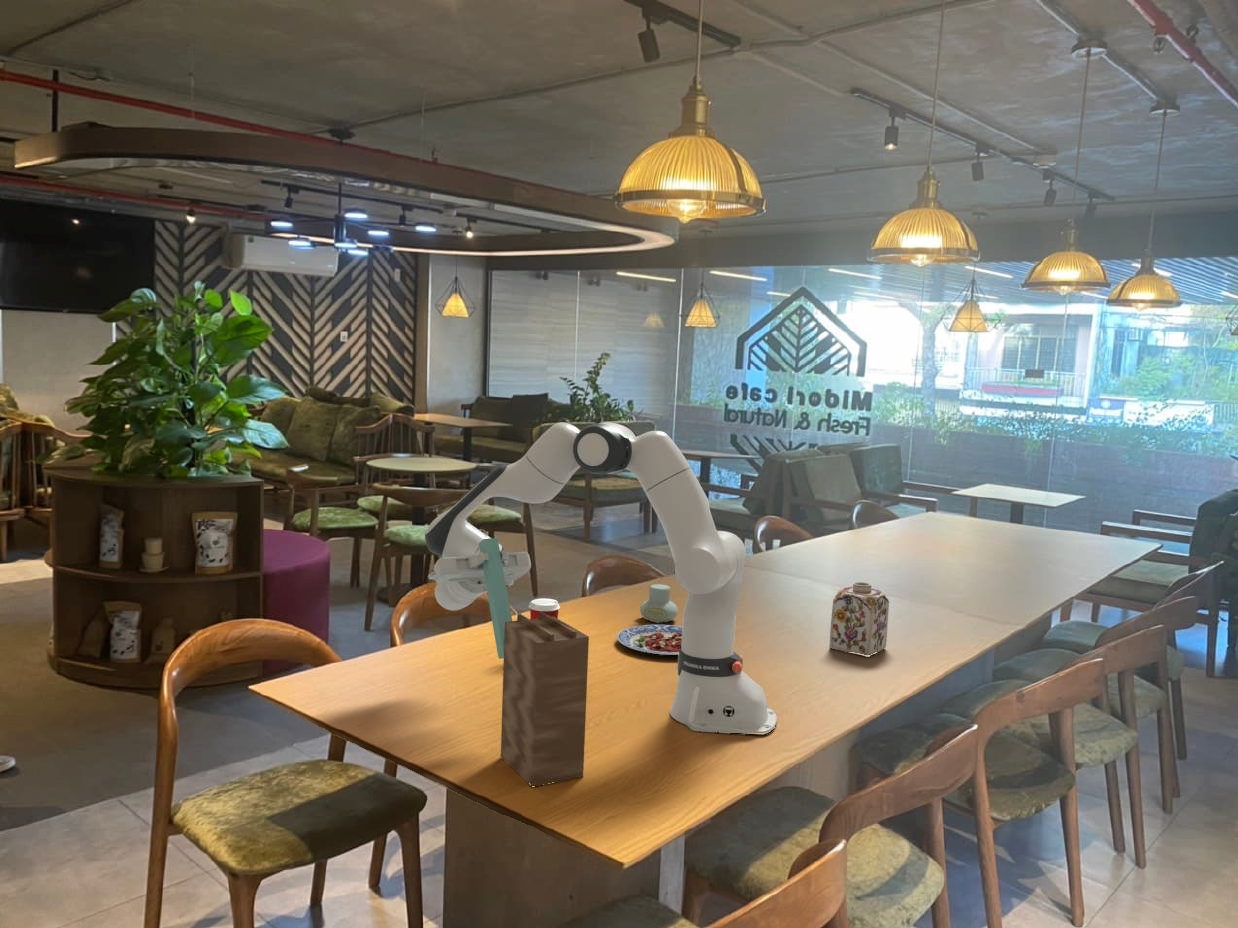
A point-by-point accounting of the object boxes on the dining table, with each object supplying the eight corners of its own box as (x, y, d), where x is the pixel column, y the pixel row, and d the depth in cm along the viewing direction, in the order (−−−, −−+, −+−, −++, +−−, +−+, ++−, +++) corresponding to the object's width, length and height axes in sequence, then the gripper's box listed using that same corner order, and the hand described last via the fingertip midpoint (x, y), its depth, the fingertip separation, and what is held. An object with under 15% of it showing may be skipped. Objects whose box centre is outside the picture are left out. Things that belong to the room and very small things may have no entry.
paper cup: (558, 652, 245) (560, 598, 243) (557, 662, 237) (559, 606, 236) (527, 651, 244) (529, 597, 243) (525, 661, 237) (527, 605, 235)
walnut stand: (500, 757, 180) (504, 615, 177) (548, 748, 185) (553, 610, 182) (532, 787, 168) (537, 636, 165) (583, 777, 173) (589, 630, 170)
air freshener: (636, 621, 276) (637, 587, 275) (643, 614, 284) (645, 581, 283) (673, 626, 273) (675, 592, 272) (680, 619, 281) (681, 585, 279)
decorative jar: (869, 659, 250) (874, 591, 248) (827, 649, 257) (832, 583, 255) (887, 649, 260) (892, 583, 258) (846, 640, 267) (851, 576, 265)
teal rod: (478, 543, 199) (483, 538, 196) (492, 542, 200) (497, 537, 198) (498, 658, 191) (504, 655, 189) (512, 657, 192) (518, 653, 190)
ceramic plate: (715, 636, 266) (715, 625, 265) (714, 665, 240) (714, 654, 240) (622, 629, 268) (622, 619, 268) (611, 658, 243) (612, 646, 243)
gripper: (423, 565, 202) (443, 543, 191) (513, 558, 212) (537, 537, 201) (427, 594, 200) (448, 574, 189) (518, 585, 210) (543, 566, 199)
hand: (495, 555), depth 195 cm, fingers closed on teal rod, 3 cm apart
